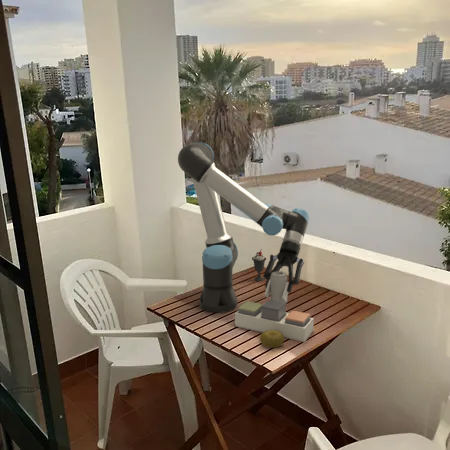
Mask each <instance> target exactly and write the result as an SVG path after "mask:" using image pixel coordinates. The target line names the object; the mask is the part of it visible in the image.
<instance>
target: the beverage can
mask: <svg viewBox="0 0 450 450" xmlns="http://www.w3.org/2000/svg"><path fill="white" fill-rule="evenodd" d="M287 282H288V275H287V273H286V272H284V271H280V270H279V271H277V272H273V273H271V277H270V300H272V301H277V302H283V303H286V304H287V303H288V298H287V299H286V301H284V300H283V299H282V296H283V292H284V289H285V286H286V283H287Z"/></svg>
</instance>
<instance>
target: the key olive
mask: <svg viewBox="0 0 450 450" xmlns="http://www.w3.org/2000/svg"><path fill="white" fill-rule="evenodd" d="M262 305H264V303H258V302H253V301H245V302H244V303H243V304H241V305H240V306H239V307H238V310H239V313H241V314H245V315H250V316H254V317H256V316H257V315H258V314H259V313H260V312H261V306H262Z"/></svg>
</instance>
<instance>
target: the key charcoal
mask: <svg viewBox="0 0 450 450" xmlns="http://www.w3.org/2000/svg"><path fill="white" fill-rule="evenodd" d="M286 305H287V303H283V302H277V301H272V300H271V299H268V300H267V301H266V302H265V303H263V305H262V306H261V318H263V319H268V320H273V321H277V322H280V321H281V320H282V319H283V318H284V317H285V316H286V313H287V312H286V311H287V309H286V308H287V306H286Z"/></svg>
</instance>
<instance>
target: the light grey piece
mask: <svg viewBox="0 0 450 450" xmlns="http://www.w3.org/2000/svg"><path fill="white" fill-rule="evenodd" d="M289 313H290V312H286V316H287V315H288V314H289ZM286 316H285V317H286ZM285 317H284V318H283V319H282V320H281V321H280V322H277V321H273V320H268V319H263V318H261V312H260V313H259V314H258V315H257V316H256V317H254V316H250V315H245V314H241V313H239V309H238V310H237V311H236V312H234V327H236V328H237V327H238V328H242V329H245V330H251V331H255V332H259V333H261V334H262V333H263V332H264V331H267V330H276V331H279V332H281V333H282V334H283V336H284V339H289V340H294V341H297V342H301V343H306V342H307V340H308V339H309V338H308V337H310V336H311V335H312V334H313V333H314V324H315V323H314V322H315V319H314V318H313V317H310V321H309V322H308V323H307V324H306V326H305V327H300V326H295V325H291V324H286V323H285ZM312 332H313V333H312ZM311 333H312V334H311Z"/></svg>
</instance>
